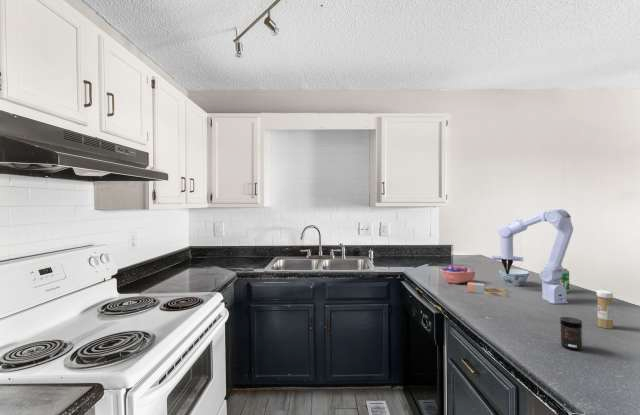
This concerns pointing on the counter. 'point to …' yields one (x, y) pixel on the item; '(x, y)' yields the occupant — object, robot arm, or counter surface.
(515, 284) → the chinaware
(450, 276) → the cell model
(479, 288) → the grey-blue block
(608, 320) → the sprinkles bottle
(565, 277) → the soda can
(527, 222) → the robot arm
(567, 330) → the supplement container
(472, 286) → the terracotta block
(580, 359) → the counter surface
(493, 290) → the maple chute
